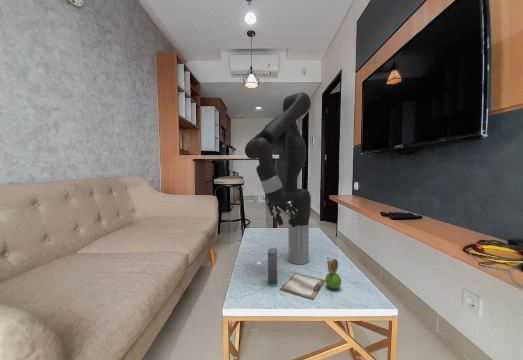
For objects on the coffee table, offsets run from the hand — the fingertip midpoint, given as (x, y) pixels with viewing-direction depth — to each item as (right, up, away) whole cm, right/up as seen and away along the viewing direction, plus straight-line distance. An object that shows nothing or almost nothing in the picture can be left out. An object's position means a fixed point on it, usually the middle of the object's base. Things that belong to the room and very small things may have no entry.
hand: (287, 225), depth 90 cm
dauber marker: (-6, -20, -7) cm, 22 cm away
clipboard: (+5, -20, -8) cm, 22 cm away
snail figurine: (+15, -21, -10) cm, 27 cm away
